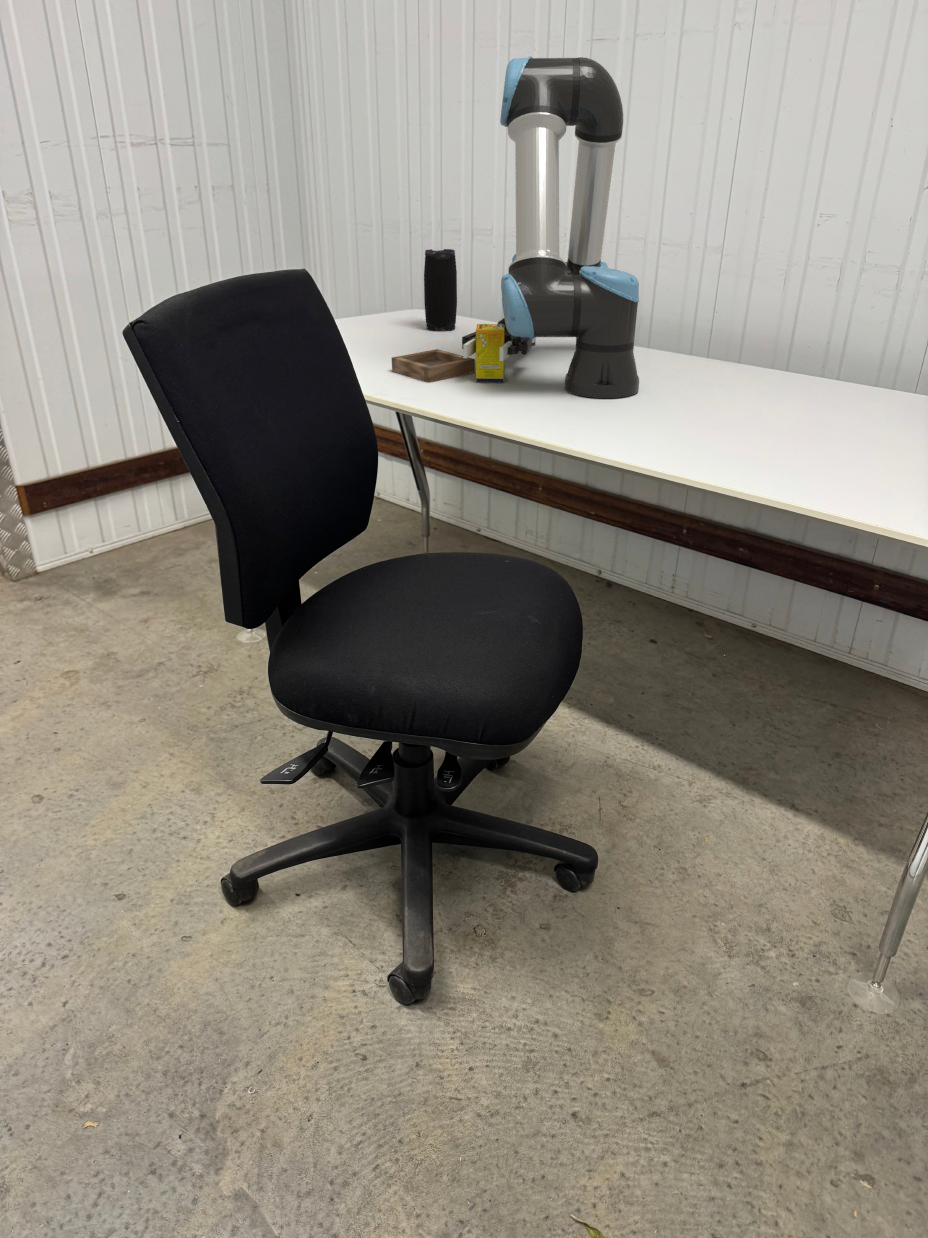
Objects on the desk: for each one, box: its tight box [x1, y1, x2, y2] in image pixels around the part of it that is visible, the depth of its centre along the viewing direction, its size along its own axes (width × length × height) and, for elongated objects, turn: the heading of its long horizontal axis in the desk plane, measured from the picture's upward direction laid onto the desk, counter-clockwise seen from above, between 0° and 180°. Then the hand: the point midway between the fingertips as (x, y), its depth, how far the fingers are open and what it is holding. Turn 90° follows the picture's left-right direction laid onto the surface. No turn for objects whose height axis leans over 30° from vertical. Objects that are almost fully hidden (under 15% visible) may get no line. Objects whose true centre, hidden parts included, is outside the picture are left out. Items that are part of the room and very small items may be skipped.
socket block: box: [391, 348, 476, 383], centre depth 196 cm, size 13×13×3 cm
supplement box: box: [475, 323, 505, 383], centre depth 188 cm, size 6×6×11 cm
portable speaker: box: [423, 248, 458, 332], centre depth 234 cm, size 9×9×20 cm
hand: (483, 352), depth 183 cm, fingers closed on supplement box, 7 cm apart
